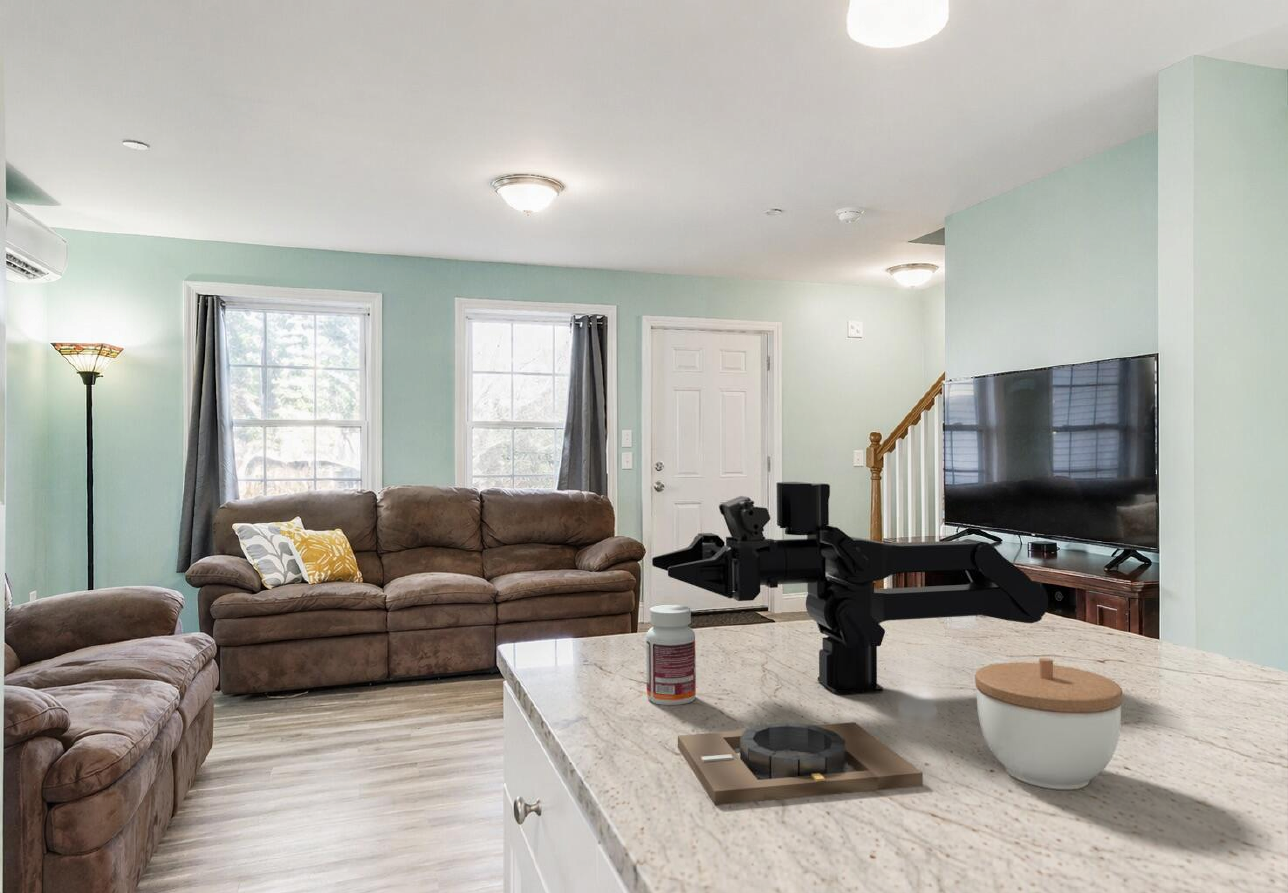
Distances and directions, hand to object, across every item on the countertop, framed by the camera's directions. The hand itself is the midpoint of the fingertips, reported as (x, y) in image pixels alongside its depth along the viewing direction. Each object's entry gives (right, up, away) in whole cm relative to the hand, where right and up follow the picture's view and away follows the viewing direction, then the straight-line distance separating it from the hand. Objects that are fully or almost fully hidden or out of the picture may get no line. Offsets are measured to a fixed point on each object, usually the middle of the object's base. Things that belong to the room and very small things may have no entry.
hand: (659, 566), depth 101 cm
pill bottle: (+1, -17, 0) cm, 17 cm away
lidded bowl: (+37, -17, -23) cm, 47 cm away
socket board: (+13, -16, -21) cm, 30 cm away
